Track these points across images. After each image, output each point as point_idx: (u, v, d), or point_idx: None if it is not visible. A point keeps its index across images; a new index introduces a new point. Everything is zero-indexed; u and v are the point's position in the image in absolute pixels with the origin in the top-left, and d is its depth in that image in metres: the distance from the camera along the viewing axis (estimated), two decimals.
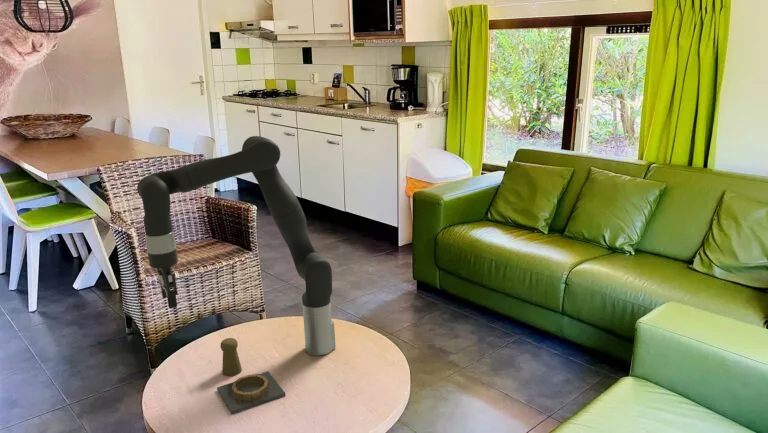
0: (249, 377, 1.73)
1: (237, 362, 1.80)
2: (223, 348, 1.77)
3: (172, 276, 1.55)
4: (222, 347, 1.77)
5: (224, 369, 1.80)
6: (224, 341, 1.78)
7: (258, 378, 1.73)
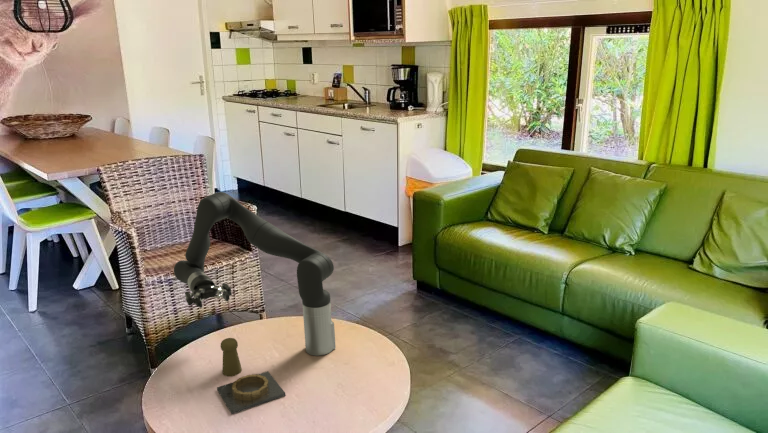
0: (249, 377, 1.73)
1: (237, 362, 1.80)
2: (223, 348, 1.77)
3: (185, 294, 1.91)
4: (222, 347, 1.77)
5: (224, 369, 1.80)
6: (224, 341, 1.78)
7: (258, 378, 1.73)
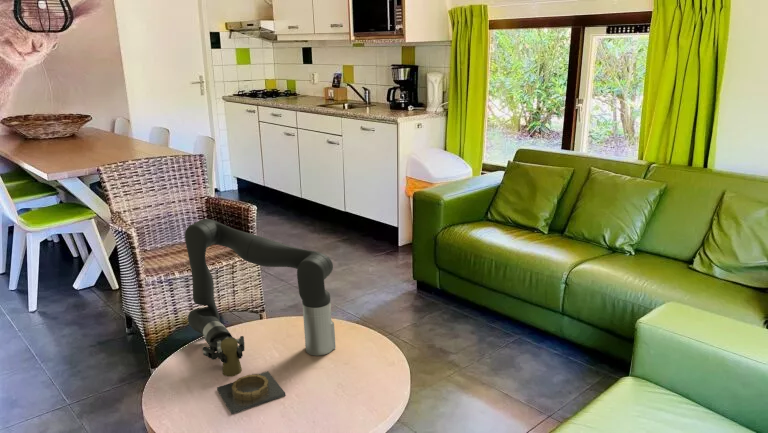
0: (249, 377, 1.73)
1: (237, 362, 1.80)
2: (223, 348, 1.77)
3: (203, 349, 1.82)
4: (222, 347, 1.77)
5: (224, 369, 1.79)
6: (224, 341, 1.78)
7: (258, 378, 1.73)
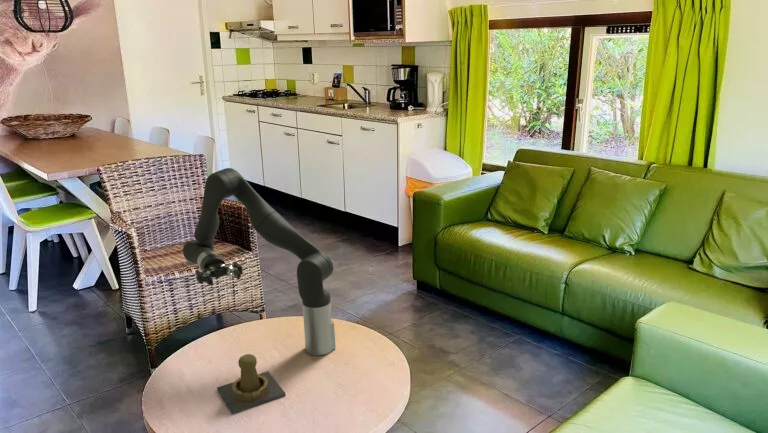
0: None
1: (256, 380, 1.68)
2: (241, 365, 1.65)
3: (195, 272, 1.86)
4: (240, 364, 1.65)
5: (242, 388, 1.68)
6: (242, 358, 1.66)
7: (258, 378, 1.73)
